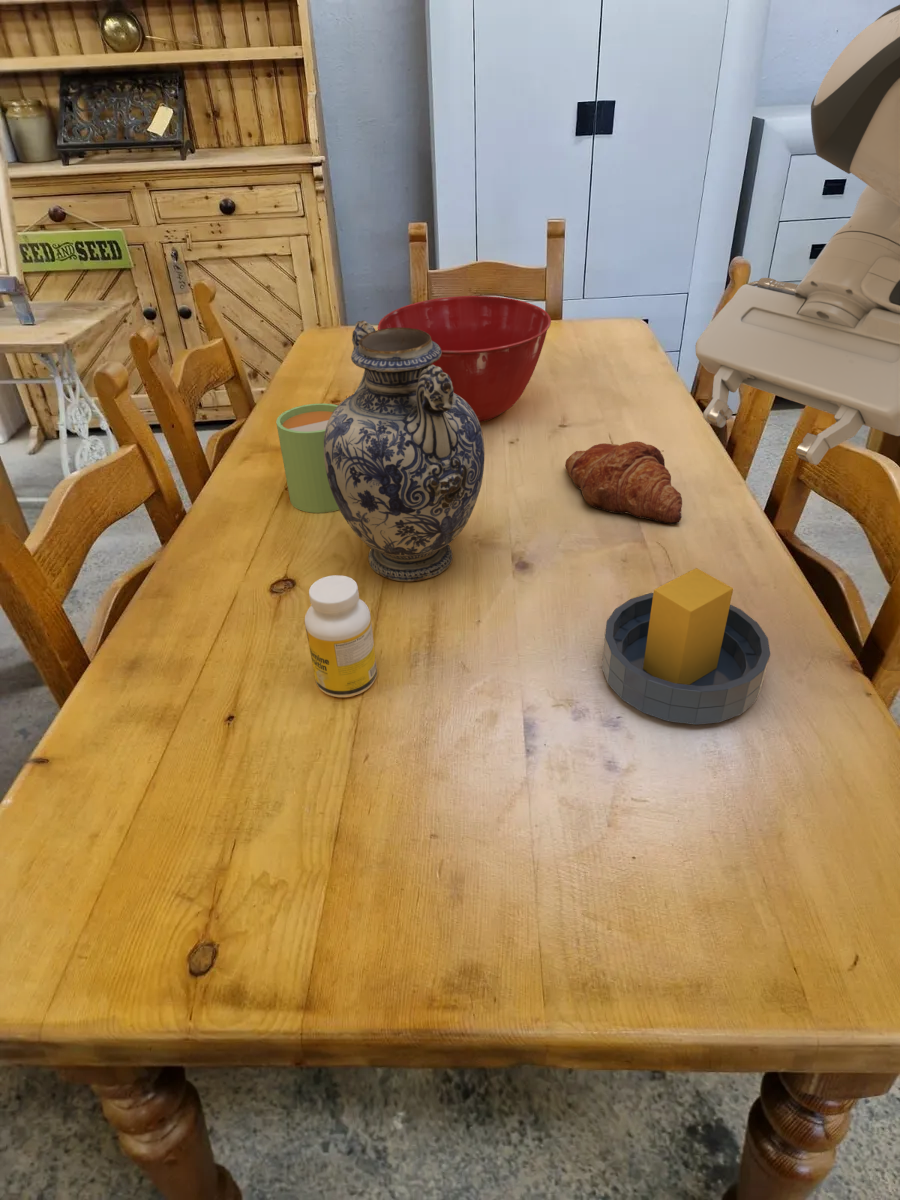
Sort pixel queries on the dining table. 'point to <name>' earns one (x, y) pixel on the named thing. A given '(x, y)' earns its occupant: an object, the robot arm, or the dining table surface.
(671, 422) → the dining table surface
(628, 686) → the bowl
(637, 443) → the pastry
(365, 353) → the decorative vase
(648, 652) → the yellow rectangular block
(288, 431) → the mug
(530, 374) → the mixing bowl
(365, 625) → the pill bottle
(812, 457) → the robot arm
